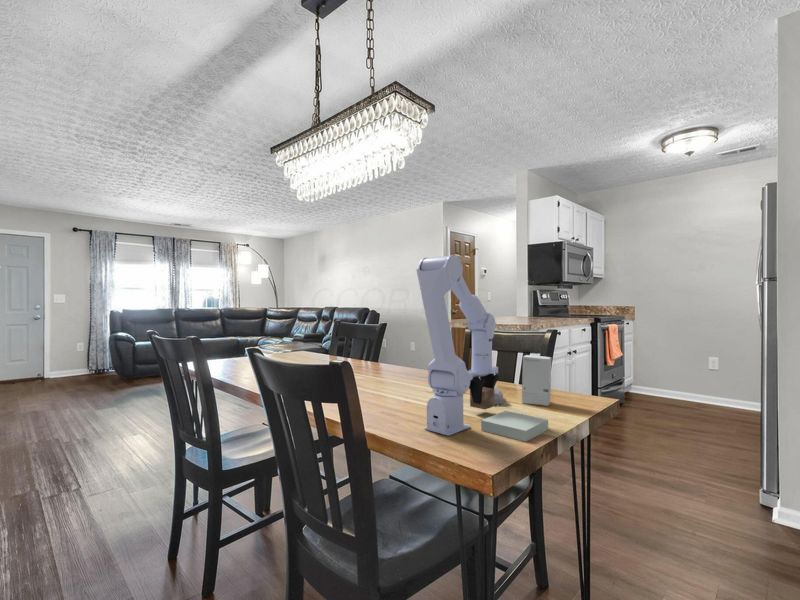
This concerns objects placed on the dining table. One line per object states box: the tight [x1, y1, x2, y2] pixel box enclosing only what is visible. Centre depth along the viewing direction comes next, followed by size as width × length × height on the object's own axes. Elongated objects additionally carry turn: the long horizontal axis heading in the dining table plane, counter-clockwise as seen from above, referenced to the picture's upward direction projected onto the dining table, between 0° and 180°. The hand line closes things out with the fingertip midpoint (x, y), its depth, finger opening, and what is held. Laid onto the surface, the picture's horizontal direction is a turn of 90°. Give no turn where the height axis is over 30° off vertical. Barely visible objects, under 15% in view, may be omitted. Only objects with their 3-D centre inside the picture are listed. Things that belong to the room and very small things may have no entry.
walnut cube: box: [469, 387, 496, 410], centre depth 115 cm, size 5×5×5 cm
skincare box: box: [521, 354, 552, 407], centre depth 127 cm, size 8×6×15 cm
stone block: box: [494, 387, 504, 405], centre depth 131 cm, size 12×5×10 cm
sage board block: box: [480, 410, 549, 442], centre depth 100 cm, size 12×12×3 cm
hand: (482, 401), depth 115 cm, fingers closed on walnut cube, 5 cm apart
